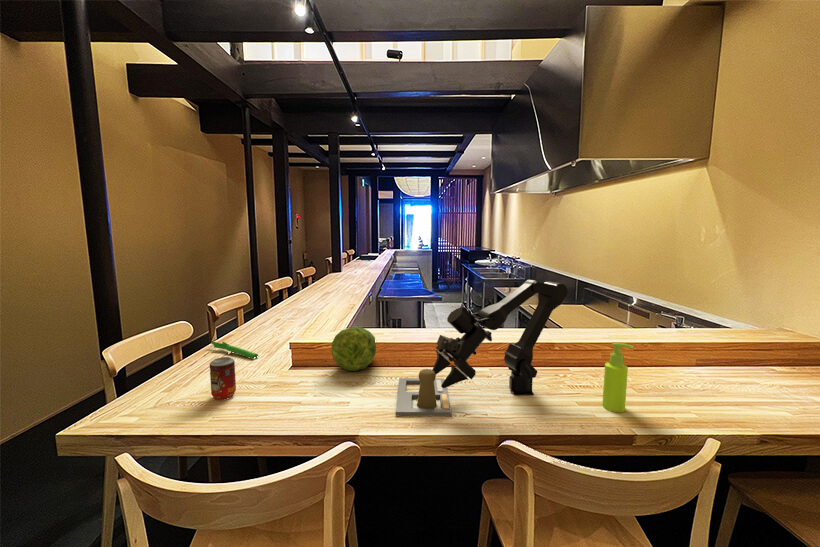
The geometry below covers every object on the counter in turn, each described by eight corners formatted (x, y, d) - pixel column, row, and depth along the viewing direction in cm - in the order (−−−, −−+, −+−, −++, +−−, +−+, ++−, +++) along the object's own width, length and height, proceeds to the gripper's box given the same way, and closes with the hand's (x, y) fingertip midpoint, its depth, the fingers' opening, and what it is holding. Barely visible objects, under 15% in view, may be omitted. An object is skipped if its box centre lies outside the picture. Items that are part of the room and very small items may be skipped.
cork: (416, 409, 104) (416, 374, 103) (417, 400, 110) (417, 366, 109) (437, 410, 104) (437, 374, 103) (436, 400, 110) (436, 367, 109)
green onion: (259, 359, 149) (216, 345, 163) (259, 352, 148) (216, 338, 163) (249, 363, 145) (206, 348, 159) (249, 355, 144) (205, 341, 158)
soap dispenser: (629, 415, 101) (633, 348, 99) (601, 409, 105) (605, 344, 102) (629, 406, 106) (633, 342, 104) (603, 401, 110) (606, 339, 107)
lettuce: (367, 370, 151) (392, 342, 150) (350, 383, 128) (380, 350, 127) (340, 343, 154) (365, 316, 153) (319, 351, 130) (348, 319, 130)
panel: (444, 381, 124) (444, 377, 124) (451, 416, 100) (451, 411, 100) (399, 381, 124) (399, 377, 124) (395, 415, 101) (395, 410, 100)
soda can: (206, 400, 109) (204, 363, 108) (220, 391, 116) (219, 355, 115) (227, 402, 109) (225, 364, 107) (240, 392, 116) (239, 356, 114)
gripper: (441, 319, 116) (409, 355, 114) (465, 334, 98) (429, 377, 96) (463, 340, 119) (432, 375, 117) (490, 358, 101) (455, 400, 99)
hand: (436, 381), depth 107 cm, fingers open, 9 cm apart
